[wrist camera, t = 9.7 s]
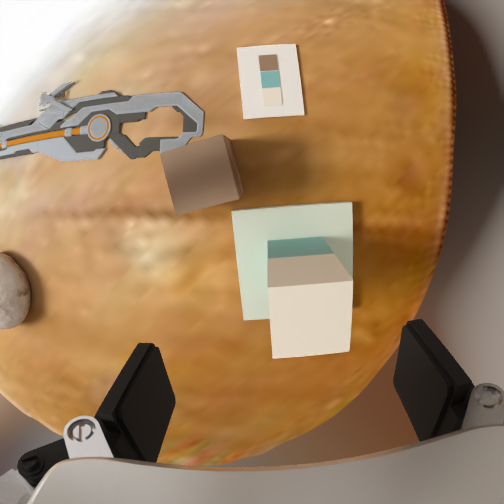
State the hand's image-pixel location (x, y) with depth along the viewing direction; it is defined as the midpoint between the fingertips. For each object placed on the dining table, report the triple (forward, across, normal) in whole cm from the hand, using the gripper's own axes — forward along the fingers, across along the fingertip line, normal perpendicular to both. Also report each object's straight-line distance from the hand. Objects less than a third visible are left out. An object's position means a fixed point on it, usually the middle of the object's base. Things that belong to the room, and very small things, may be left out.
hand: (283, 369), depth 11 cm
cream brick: (+15, -2, +3) cm, 15 cm away
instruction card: (+22, -1, -16) cm, 27 cm away
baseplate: (+22, -2, +4) cm, 22 cm away
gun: (+23, +25, -16) cm, 37 cm away
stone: (+22, +40, +4) cm, 46 cm away
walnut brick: (+22, +6, -7) cm, 24 cm away
